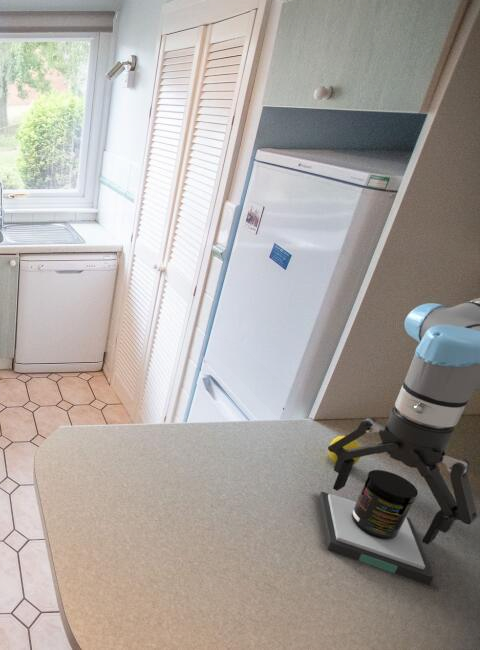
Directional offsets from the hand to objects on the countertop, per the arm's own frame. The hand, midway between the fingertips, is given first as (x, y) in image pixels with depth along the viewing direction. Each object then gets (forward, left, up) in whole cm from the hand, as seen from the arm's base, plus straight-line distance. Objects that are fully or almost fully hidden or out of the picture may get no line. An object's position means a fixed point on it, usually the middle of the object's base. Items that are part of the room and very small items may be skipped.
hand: (380, 512), depth 83 cm
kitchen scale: (0, 0, -7) cm, 7 cm away
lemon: (+2, -22, -7) cm, 23 cm away
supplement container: (0, 0, -4) cm, 4 cm away
